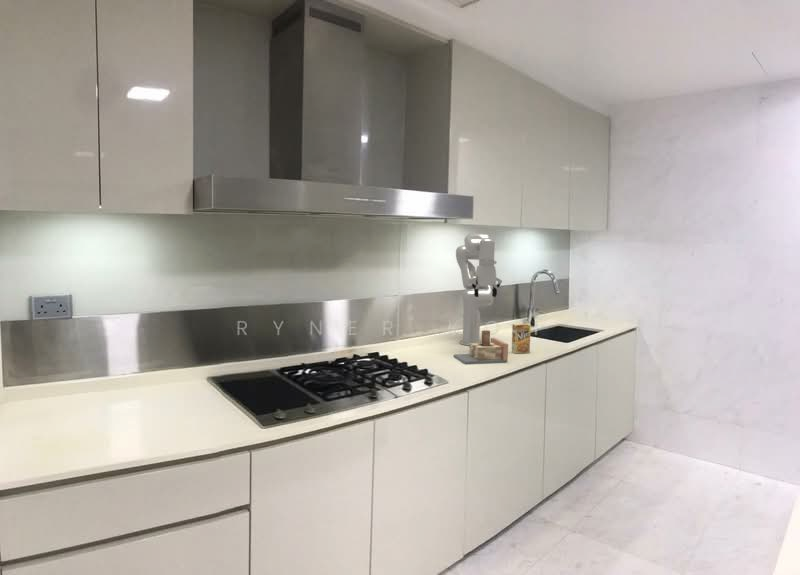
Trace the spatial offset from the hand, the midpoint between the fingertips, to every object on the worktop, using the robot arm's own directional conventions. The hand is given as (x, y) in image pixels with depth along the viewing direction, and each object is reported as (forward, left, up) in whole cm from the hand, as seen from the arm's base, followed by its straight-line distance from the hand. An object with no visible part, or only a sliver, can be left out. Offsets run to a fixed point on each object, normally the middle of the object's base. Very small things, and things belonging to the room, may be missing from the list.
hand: (485, 296), depth 259 cm
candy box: (-2, +22, -31) cm, 38 cm away
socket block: (+10, -3, -29) cm, 31 cm away
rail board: (+10, -6, -30) cm, 32 cm away
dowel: (+10, -3, -28) cm, 30 cm away
